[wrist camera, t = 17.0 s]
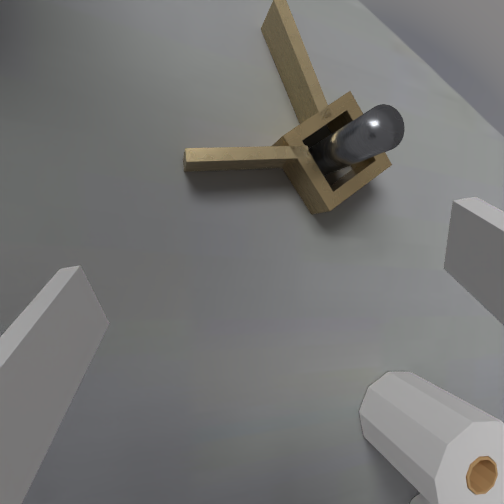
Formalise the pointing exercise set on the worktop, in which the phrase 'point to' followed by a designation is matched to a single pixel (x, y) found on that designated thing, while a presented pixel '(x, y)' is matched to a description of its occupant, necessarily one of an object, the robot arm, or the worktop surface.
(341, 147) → the hinge pin
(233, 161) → the tan piece
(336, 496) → the worktop surface
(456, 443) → the toilet paper
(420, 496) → the fire extinguisher
